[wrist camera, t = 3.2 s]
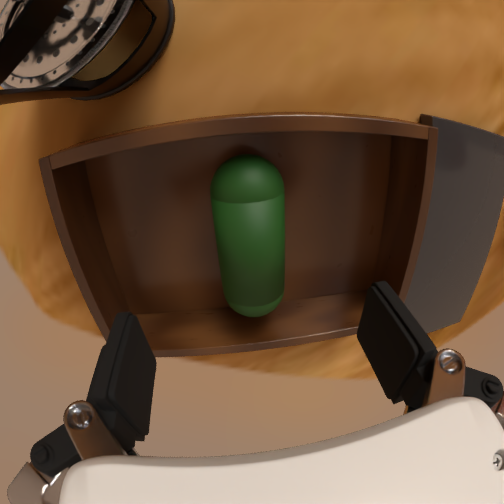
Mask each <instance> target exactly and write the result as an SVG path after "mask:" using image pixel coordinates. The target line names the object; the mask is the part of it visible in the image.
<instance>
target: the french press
mask: <svg viewBox="0 0 504 504" xmlns="http://www.w3.org/2000/svg"><path fill="white" fill-rule="evenodd" d="M139 1H140V2H141V3H142V4H143V5H144V6H145V8H146V9H147V10H148V11H149V12H150V14H151V15H152V22H151V25H150V27H149V29H148V32H147V33H146V35H145V36H144V38H143V39H142V41H141V43H140V44H139V46H138V47H137V48H136V49H135V51H134V52H133V53H132V54H131V55H130V57H129V58H128V59H127V60H126V61H125V62H124V63H123V64H122V65H121V66H120V67H119V68H118V69H116V70H115V71H114V72H113V73H111V74H110V75H108V76H106V77H103V78H100V79H97V80H91V81H80V80H77V79H74V78H72V76H73V75H75V74H76V73H78V72H79V71H80V70H81V69H82V68H84V67H85V66H86V65H87V64H88V63H89V62H91V61H92V60H93V59H94V58H95V57H96V56H97V55H98V54H99V53H100V52H101V51H102V50H103V49H104V48H105V46H106V45H107V44H108V42H109V41H110V40H111V39H112V37H113V36H114V35H115V34H116V33H117V31H118V30H119V28H120V27H121V25H122V24H123V22H124V21H125V19H126V18H127V16H128V14H129V12H130V10H131V8H132V7H133V4H134V2H135V0H8V1H7V2H6V4H5V6H4V8H3V10H2V12H1V13H0V86H2V87H3V88H4V90H0V105H2V104H8V103H15V102H23V101H31V100H41V99H53V98H71V99H75V100H96V99H101V98H105V97H108V96H112V95H114V94H116V93H118V92H120V91H122V90H124V89H126V88H127V87H129V86H130V85H132V84H133V83H135V82H136V81H138V80H139V79H140V78H141V77H142V76H143V75H144V74H146V73H147V72H148V71H149V70H150V69H151V68H152V66H153V65H154V64H155V63H156V62H157V60H158V59H159V58H160V56H161V55H162V53H163V51H164V50H165V48H166V47H167V45H168V42H169V40H170V37H171V35H172V32H173V27H174V22H175V7H174V4H173V1H172V0H139Z"/></svg>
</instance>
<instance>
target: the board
mask: <svg viewBox="0 0 504 504" xmlns="http://www.w3.org/2000/svg"><path fill="white" fill-rule="evenodd" d="M420 124H423V125H428V126H432V127H436V128H438V141H437V153H436V163H435V172H434V180H433V187H432V193H431V199H430V205H429V211H428V216H427V221H426V226H425V230H424V235H423V239H422V244H421V248H420V252H419V256H418V259H417V263H416V267H415V270H414V274H413V277H412V281H411V284H410V287H409V290H408V293H407V297H406V300H405V303H404V304H405V306H406V307H407V308H408V309H409V311H410V312H411V313H412V315H413V316H414V317H415V319H416V320H417V321H418V323H419V324H420V325H421V327H422V328H423V330H424V331H425V332H426V334H427V333H430V332H433V331H436V330H438V329H441V328H444V327H447V326H450V325H452V324H455V323H458V322H460V321H461V319H462V316H463V314H464V312H465V310H466V308H467V306H468V304H469V302H470V299H471V297H472V295H473V292H474V290H475V288H476V285H477V283H478V280H479V278H480V275H481V273H482V270H483V267H484V265H485V262H486V259H487V256H488V253H489V250H490V247H491V244H492V241H493V237H494V234H495V230H496V227H497V223H498V219H499V215H500V211H501V207H502V202H503V198H504V137H503V136H501V135H498V134H495V133H492V132H489V131H486V130H483V129H480V128H477V127H473V126H470V125H466V124H463V123H459V122H455V121H452V120H448V119H444V118H439V117H435V116H430V115H425V114H421V119H420Z"/></svg>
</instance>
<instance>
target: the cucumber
mask: <svg viewBox="0 0 504 504" xmlns="http://www.w3.org/2000/svg"><path fill="white" fill-rule="evenodd" d="M210 197H211V206H212V214H213V222H214V230H215V237H216V245H217V252H218V259H219V266H220V273H221V280H222V287H223V293H224V296H225V299H226V301H227V302H228V304H229V306H230V307H231V308H232V309H233V310H234V311H236V312H237V313H239V314H241V315H244V316H247V317H261V316H264V315H266V314H268V313H270V312H272V311H273V310H274V309H275V308H276V307H277V306H278V305H279V303H280V302H281V300H282V298H283V295H284V289H285V189H284V182H283V179H282V176H281V174H280V173H279V171H278V169H277V168H276V167H275V166H274V165H273V164H272V163H271V162H270V161H268V160H267V159H265V158H263V157H261V156H258V155H253V154H240V155H237V156H234V157H231V158H229V159H228V160H226V161H225V162H223V163H222V164H221V165H220V166H219V167H218V169H217V170H216V172H215V173H214V176H213V178H212V180H211V185H210Z"/></svg>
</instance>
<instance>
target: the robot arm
mask: <svg viewBox="0 0 504 504" xmlns="http://www.w3.org/2000/svg"><path fill="white" fill-rule="evenodd" d="M357 338H358V341H359V343H360V345H361V347H362V348H363V350H364V352H365V354H366V356H367V358H368V360H369V362H370V364H371V366H372V368H373V370H374V372H375V374H376V376H377V378H378V380H379V382H380V384H381V386H382V388H383V390H384V393H385V395H386V397H387V398H388V399H391V400H392V402H393V404H395V403H398V402H401V401H403V400H404V402H405V404H406V407H405V410H404V414H403V415H402V416H399V417H397V418H394V419H391V420H388V421H386V422H383V423H380V424H377V425H375V426H372V427H369V428H366V429H363V430H360V431H356V432H353V433H350V434H346V435H343V436H339V437H336V438H331V439H328V440H324V441H320V442H315V443H311V444H306V445H301V446H296V447H292V448H285V449H280V450H274V451H266V452H260V453H251V454H242V455H230V456H215V457H153V456H152V457H151V456H140V455H139V454H138V453H137V451H136V450H135V449H134V446H135V441H144V439H145V435H148V433H149V424H150V414H151V404H152V396H153V387H154V379H155V372H156V359H155V356H154V354H153V352H152V350H151V348H150V345H149V343H148V341H147V339H146V337H145V334H144V332H143V330H142V327H141V325H140V323H139V320H138V318H137V316H136V315H133V314H132V313H131V312H120V313H117V314H116V316H115V319H114V322H113V324H112V327H111V330H110V333H109V336H108V339H107V342H106V345H104V346H103V347H102V349H101V352H100V355H99V358H98V361H97V365H96V368H95V371H94V374H93V378H92V381H91V385H90V388H89V392H88V396H87V399H86V401H83V400H80V401H76V402H73V403H72V404H70V405H69V406H68V407H67V409H66V410H65V413H64V416H63V417H64V418H63V421H64V424H63V425H61V426H60V427H58V428H57V429H56V430H54V431H53V432H51V433H50V434H48V435H47V436H45V437H44V438H42V439H41V440H39V441H38V442H37V443H35V444H34V445H33V447H32V449H31V453H30V457H31V462H30V463H29V462H26V464H25V465H24V467H22V469H21V470H20V471H19V473H18V474H17V476H16V477H15V478H14V480H13V481H12V482H11V484H10V485H9V487H8V489H7V496H8V499H9V501H10V503H11V504H504V391H503V386H502V383H501V382H500V380H499V379H498V378H497V377H495V376H493V375H491V374H487V373H484V372H481V371H478V370H475V369H472V368H469V367H466V365H465V360H464V358H463V357H462V355H461V354H460V353H459V352H457V351H455V350H453V349H443V350H441V351H439V352H438V351H437V350H436V346H435V345H434V344H433V342H432V341H431V339H430V338H429V337H428V335H427V334H426V332H425V331H424V330H423V328H422V327H421V325H420V324H419V323H418V321H417V320H416V319H415V317H414V316H413V315H412V313H411V312H410V311H409V309H408V308H407V307H406V306H405V304H404V303H403V302H402V300H401V299H400V298H399V297H398V295H397V294H396V293H395V291H394V290H393V289H392V288H391V286H390V285H389V284H388V283H387V282H386V281H380V282H375V283H372V284H371V287H369V288H368V290H367V294H366V298H365V303H364V307H363V311H362V315H361V319H360V323H359V326H358V330H357Z"/></svg>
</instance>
